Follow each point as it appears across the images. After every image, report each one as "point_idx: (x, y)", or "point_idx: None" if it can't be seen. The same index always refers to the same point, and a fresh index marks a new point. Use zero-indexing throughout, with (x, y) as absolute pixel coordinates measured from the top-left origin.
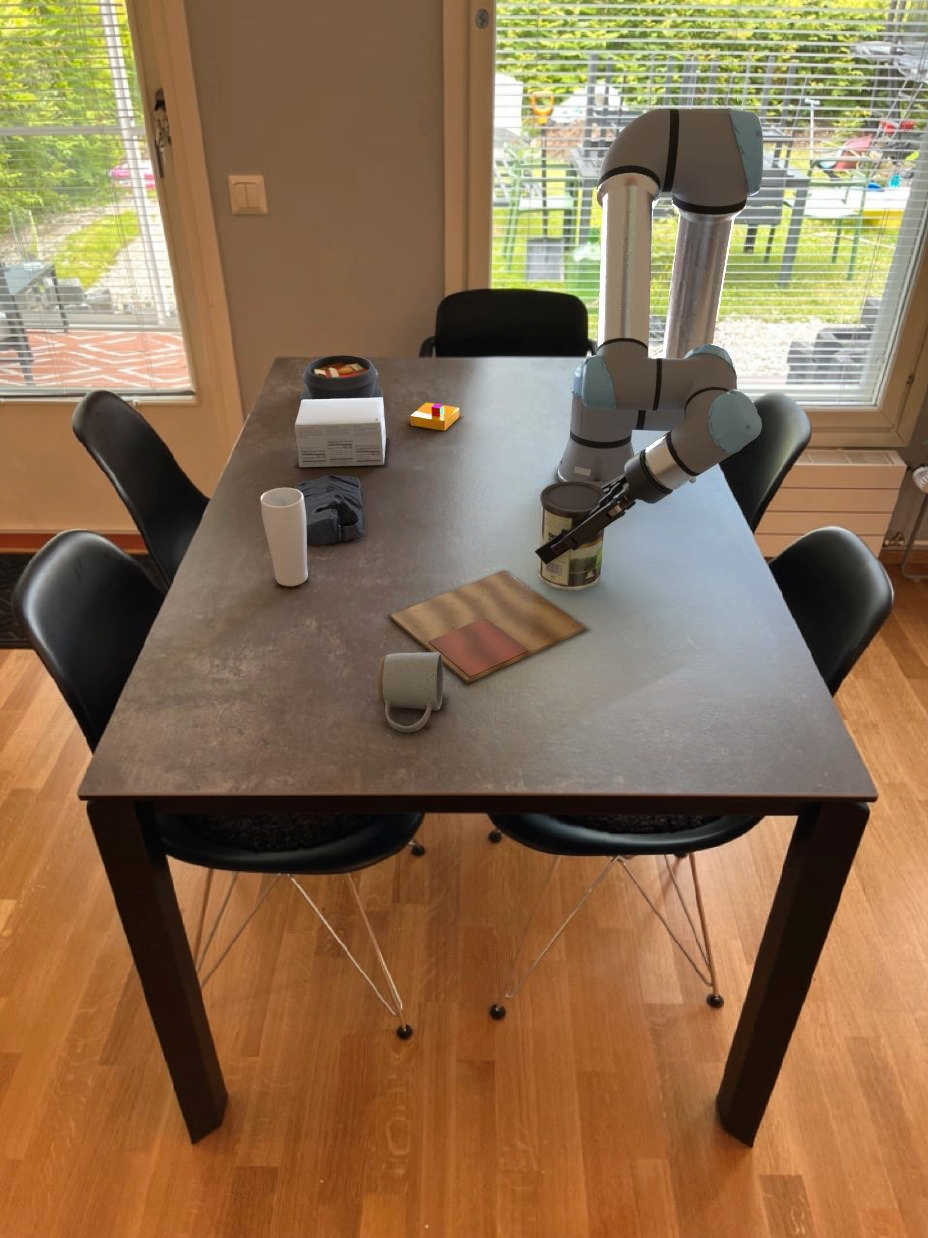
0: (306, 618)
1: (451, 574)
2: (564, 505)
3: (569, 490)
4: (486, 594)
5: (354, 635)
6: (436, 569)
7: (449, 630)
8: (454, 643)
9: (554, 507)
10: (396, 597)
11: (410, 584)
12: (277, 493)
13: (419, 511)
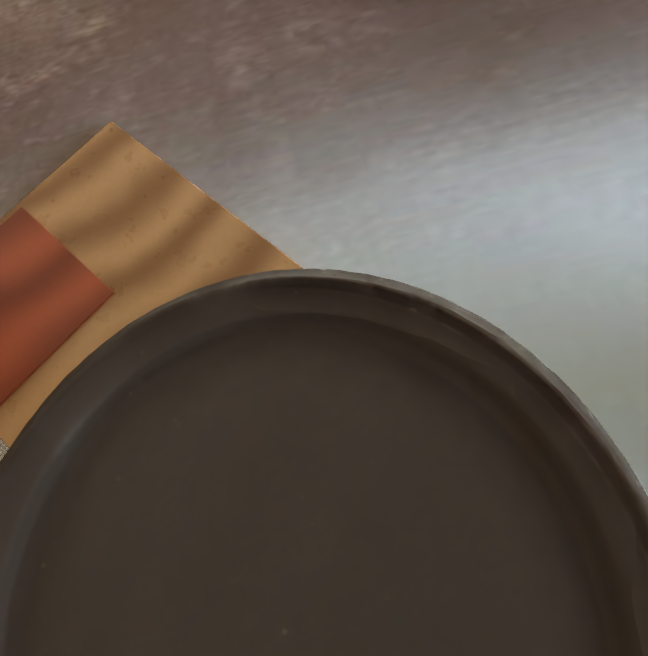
0: (105, 15)
1: (294, 183)
2: (99, 530)
3: (438, 535)
4: (209, 272)
5: (60, 92)
6: (308, 150)
7: (63, 234)
8: (13, 255)
9: (32, 438)
10: (188, 114)
11: (239, 123)
12: None
13: (547, 49)
